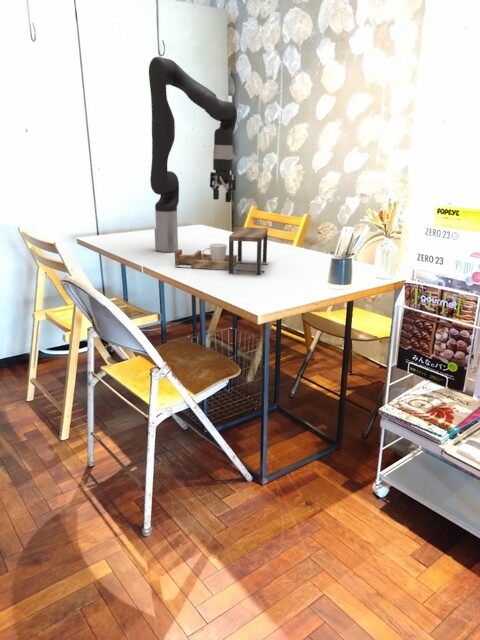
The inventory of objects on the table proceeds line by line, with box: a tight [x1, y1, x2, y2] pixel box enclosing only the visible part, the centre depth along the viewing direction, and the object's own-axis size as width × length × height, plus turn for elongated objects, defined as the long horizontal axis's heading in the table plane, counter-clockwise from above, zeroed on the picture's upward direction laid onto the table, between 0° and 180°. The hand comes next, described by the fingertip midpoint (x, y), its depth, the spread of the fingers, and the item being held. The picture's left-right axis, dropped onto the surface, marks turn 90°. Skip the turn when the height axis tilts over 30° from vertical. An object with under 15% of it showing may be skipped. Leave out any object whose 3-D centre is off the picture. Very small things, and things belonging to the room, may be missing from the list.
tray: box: [174, 249, 238, 269], centre depth 192 cm, size 22×13×4 cm, turn 81°
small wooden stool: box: [228, 226, 269, 276], centre depth 189 cm, size 12×22×14 cm, turn 171°
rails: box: [174, 261, 269, 273], centre depth 192 cm, size 34×13×1 cm, turn 81°
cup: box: [201, 242, 228, 262], centre depth 192 cm, size 7×10×8 cm
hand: (222, 200), depth 197 cm, fingers open, 8 cm apart
